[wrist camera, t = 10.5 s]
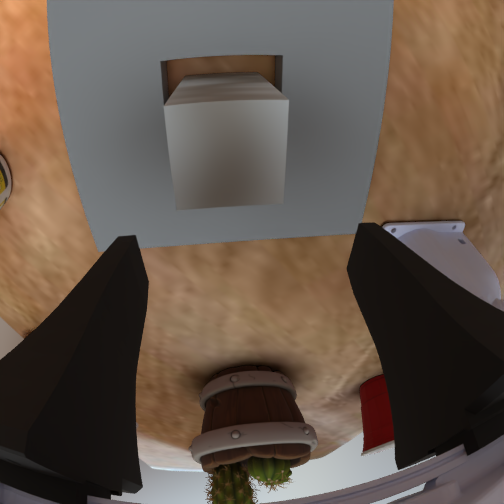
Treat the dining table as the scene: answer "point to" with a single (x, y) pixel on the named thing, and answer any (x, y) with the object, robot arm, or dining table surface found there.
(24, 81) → the dining table surface
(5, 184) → the supplement bottle
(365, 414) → the plastic cup
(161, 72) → the socket board
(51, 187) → the dining table surface
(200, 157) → the peg
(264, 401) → the flowerpot
